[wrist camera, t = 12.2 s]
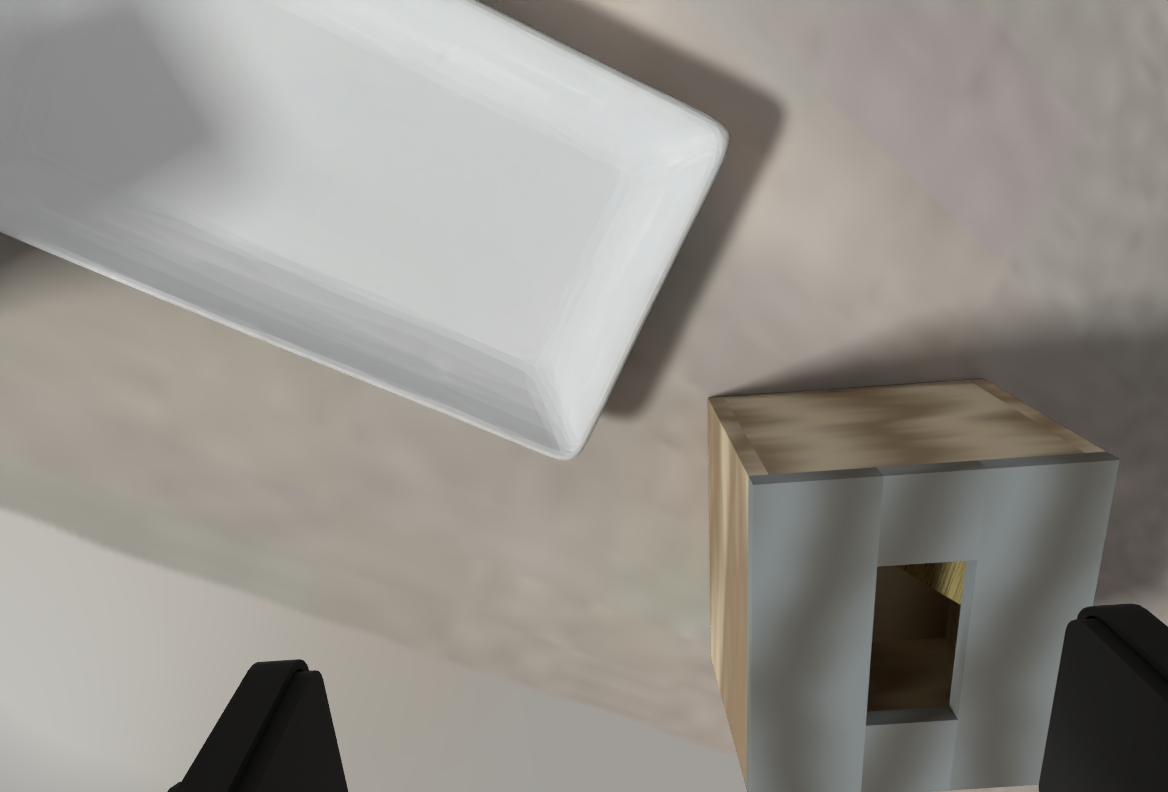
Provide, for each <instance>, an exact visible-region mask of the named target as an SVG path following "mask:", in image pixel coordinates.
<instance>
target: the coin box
mask: <svg viewBox="0 0 1168 792" xmlns="http://www.w3.org/2000/svg"><path fill="white" fill-rule="evenodd" d="M708 445H709V521H710V598H711V658H712V662H713V666H714V670H715V673H716V677H717V681H718V685H719V688H720V692H721V696H722V700H723V703H724V707H725V711H726V714H727V718H728V722H729V726H730V729H731V733H732V737H733V741H734V744H735V748H736V752H737V756H738V759H739V763H740V767H741V771H742V774H743V778H744V782H745V785H746V789H747V792H932V791H947V790H962V789H978V788H993V787H1008V786H1024V785H1039V780H1040V774H1041V768H1042V762H1043V757H1044V751H1045V745H1046V739H1047V734H1048V728H1049V722H1050V716H1051V711H1052V705H1053V699H1054V693H1055V688H1056V682H1057V676H1058V670H1059V665H1060V659H1061V653H1062V647H1063V642H1064V636H1065V630H1066V627H1067V624H1068V623H1069V622H1070V621H1072V620H1076V619H1077V616H1078V613H1079V612H1080V611H1081V610H1082V609H1083V608H1086V607H1089V606H1093V602H1094V597H1095V591H1096V586H1097V581H1098V575H1099V570H1100V565H1101V559H1102V554H1103V548H1104V543H1105V538H1106V532H1107V527H1108V522H1109V516H1110V511H1111V505H1112V500H1113V495H1114V489H1115V484H1116V479H1117V473H1118V468H1119V463H1120V460H1119V459H1118V458H1116V457H1114V456H1113V455H1111V454H1109V453H1107V452H1106V451H1104V450H1102V449H1101V448H1099V447H1097V446H1096V445H1094V444H1092V443H1091V442H1089V441H1087V440H1086V439H1084V438H1082V437H1081V436H1079V435H1077V434H1076V433H1074V432H1072V431H1071V430H1069V429H1067V428H1066V427H1064V426H1062V425H1061V424H1059V423H1057V422H1056V421H1054V420H1052V419H1050V418H1049V417H1047V416H1045V415H1044V414H1042V413H1040V412H1039V411H1037V410H1035V409H1034V408H1032V407H1030V406H1029V405H1027V404H1025V403H1024V402H1022V401H1020V400H1019V399H1017V398H1015V397H1014V396H1012V395H1010V394H1009V393H1007V392H1005V391H1004V390H1002V389H1000V388H998V387H997V386H995V385H993V384H992V383H990V382H988V381H987V380H985V379H972V380H958V381H943V382H929V383H914V384H900V385H885V386H871V387H856V388H842V389H827V390H813V391H798V392H784V393H769V394H755V395H740V396H725V397H711V398H708ZM954 561H966V566H965V575H964V583H963V592H962V600H961V604H958V603H957V602H955V601H953V600H952V599H950V598H948V597H946V596H945V595H943V594H941V593H940V592H938V591H936V590H935V589H933V588H931V587H930V586H928V585H926V584H925V583H923V582H921V581H920V580H918V579H916V578H915V577H913V576H911V575H910V574H908V573H906V572H905V571H903V570H901V569H899V568H898V567H896V566H895V565H910V564H925V563H940V562H954Z"/></svg>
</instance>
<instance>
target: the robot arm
mask: <svg viewBox="0 0 1168 792" xmlns="http://www.w3.org/2000/svg"><path fill="white" fill-rule="evenodd" d="M168 792H348V789H347V784H346V780H345V775H344V771H343V767H342V762H341V757H340V753H339V749H338V744H337V739H336V735H335V731H334V726H333V722H332V718H331V713H330V708H329V704H328V700H327V695H326V690H325V686H324V681H323V678H322V675H321V673H320V672H319V671H309V669H308V666H307V664H306V663H305V662H304V661H303V660H284V661H269V662H257V663H255V664H254V665H252V667H251V668H250V669H249V670H248V672H247V674H246V675H245V677H244V678H243V680H242V682H241V683H240V685H239V687H238V688H237V690H236V692H235V694H234V695H233V697H232V698H231V700H230V702H229V704H228V705H227V707H226V708H225V710H224V712H223V713H222V715H221V717H220V719H219V720H218V722H217V723H216V725H215V727H214V728H213V730H212V732H211V733H210V735H209V737H208V738H207V740H206V742H205V744H204V745H203V747H202V748H201V750H200V752H199V754H198V755H197V757H196V758H195V760H194V762H193V764H192V765H191V767H190V768H189V770H188V772H187V774H186V775H185V777H184V778H183V780H182V782H179V783H177V784H176V785H174V786H173V787H171V788H170V789H169V790H168ZM1039 792H1168V627H1167V626H1166V625H1165V624H1164V623H1162V622H1161V621H1160V620H1159V619H1158V618H1156V617H1155V616H1154V615H1153V614H1152V613H1150V612H1149V611H1148V610H1146V609H1145V608H1143V607H1142V606H1140V605H1136V604H1118V605H1103V606H1089V607H1086V608H1083V609H1082V610H1081V611H1080V612H1079V613H1078V616H1077V619H1076V620H1072V621H1070V622H1069V623H1068V624H1067V627H1066V630H1065V636H1064V642H1063V647H1062V653H1061V659H1060V665H1059V670H1058V676H1057V682H1056V688H1055V693H1054V699H1053V705H1052V711H1051V716H1050V722H1049V728H1048V734H1047V739H1046V745H1045V751H1044V757H1043V762H1042V768H1041V774H1040V780H1039Z"/></svg>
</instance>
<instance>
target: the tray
mask: <svg viewBox="0 0 1168 792" xmlns="http://www.w3.org/2000/svg"><path fill="white" fill-rule="evenodd" d="M729 142H730V138H729V133H728V130H727V129H726V128H725V127H724V126H723V125H722V124H721V123H720V122H718V121H717V120H715V119H714V118H712V117H711V116H709V115H707V114H705V113H703V112H701V111H700V110H698V109H696V108H694V107H692V106H690V105H688V104H686V103H684V102H682V101H680V100H678V99H676V98H674V97H672V96H670V95H668V94H666V93H664V92H662V91H659V90H657V89H655V88H653V87H651V86H649V85H647V84H645V83H643V82H641V81H638V80H636V79H634V78H632V77H630V76H628V75H626V74H624V73H622V72H620V71H618V70H616V69H614V68H612V67H610V66H608V65H606V64H604V63H602V62H600V61H598V60H596V59H594V58H592V57H590V56H588V55H586V54H584V53H582V52H580V51H578V50H576V49H574V48H572V47H570V46H568V45H566V44H564V43H562V42H560V41H558V40H556V39H554V38H552V37H550V36H548V35H546V34H544V33H542V32H540V31H538V30H536V29H534V28H532V27H530V26H528V25H526V24H524V23H522V22H520V21H518V20H516V19H514V18H512V17H510V16H508V15H506V14H504V13H502V12H500V11H498V10H496V9H494V8H492V7H490V6H488V5H486V4H484V3H482V2H480V1H478V0H0V232H1V233H3V234H6V235H8V236H11V237H13V238H15V239H18V240H20V241H22V242H25V243H27V244H30V245H32V246H34V247H37V248H39V249H41V250H44V251H46V252H49V253H51V254H53V255H56V256H58V257H61V258H63V259H65V260H68V261H70V262H72V263H75V264H77V265H80V266H82V267H84V268H87V269H89V270H92V271H94V272H97V273H99V274H101V275H104V276H106V277H109V278H111V279H113V280H116V281H118V282H121V283H123V284H126V285H128V286H130V287H133V288H135V289H138V290H140V291H143V292H145V293H147V294H150V295H152V296H155V297H157V298H160V299H162V300H164V301H167V302H169V303H172V304H174V305H177V306H179V307H181V308H184V309H186V310H189V311H191V312H194V313H196V314H198V315H201V316H203V317H206V318H208V319H211V320H213V321H216V322H218V323H221V324H223V325H225V326H228V327H230V328H233V329H235V330H238V331H240V332H243V333H245V334H248V335H250V336H252V337H255V338H257V339H260V340H262V341H265V342H267V343H270V344H272V345H274V346H277V347H279V348H282V349H284V350H287V351H289V352H292V353H294V354H297V355H299V356H302V357H304V358H307V359H309V360H312V361H314V362H317V363H319V364H322V365H324V366H327V367H329V368H332V369H334V370H337V371H339V372H342V373H344V374H347V375H349V376H352V377H354V378H357V379H359V380H362V381H364V382H367V383H369V384H372V385H374V386H377V387H379V388H382V389H384V390H387V391H389V392H392V393H394V394H397V395H399V396H402V397H404V398H407V399H409V400H412V401H414V402H417V403H419V404H422V405H424V406H427V407H429V408H432V409H434V410H437V411H439V412H441V413H444V414H446V415H449V416H451V417H454V418H456V419H458V420H461V421H463V422H466V423H468V424H470V425H473V426H475V427H478V428H480V429H483V430H485V431H487V432H490V433H492V434H495V435H497V436H500V437H502V438H505V439H507V440H510V441H512V442H514V443H517V444H519V445H522V446H524V447H526V448H529V449H531V450H533V451H536V452H538V453H541V454H543V455H546V456H549V457H552V458H556V459H560V460H571V459H573V458H575V457H577V456H578V455H579V454H580V452H581V451H582V450H583V449H584V447H585V445H586V443H587V442H588V440H589V438H590V436H591V434H592V432H593V430H594V428H595V426H596V424H597V422H598V420H599V418H600V415H601V413H602V411H603V409H604V407H605V405H606V403H607V400H608V398H609V396H610V394H611V392H612V390H613V387H614V385H615V383H616V381H617V379H618V377H619V375H620V372H621V370H622V368H623V366H624V364H625V362H626V360H627V358H628V356H629V354H630V351H631V349H632V347H633V345H634V343H635V341H636V339H637V337H638V335H639V333H640V331H641V328H642V326H643V324H644V322H645V320H646V318H647V316H648V314H649V312H650V310H651V308H652V306H653V304H654V302H655V300H656V298H657V296H658V294H659V292H660V290H661V288H662V286H663V284H664V282H665V280H666V277H667V275H668V273H669V271H670V269H671V267H672V265H673V263H674V261H675V259H676V257H677V255H678V253H679V251H680V249H681V247H682V245H683V243H684V241H685V239H686V237H687V235H688V233H689V231H690V229H691V227H692V225H693V223H694V221H695V219H696V217H697V215H698V213H699V211H700V209H701V207H702V205H703V203H704V201H705V199H706V197H707V195H708V193H709V191H710V189H711V187H712V185H713V183H714V181H715V179H716V177H717V174H718V172H719V170H720V168H721V166H722V163H723V161H724V158H725V156H726V153H727V150H728V146H729Z"/></svg>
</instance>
